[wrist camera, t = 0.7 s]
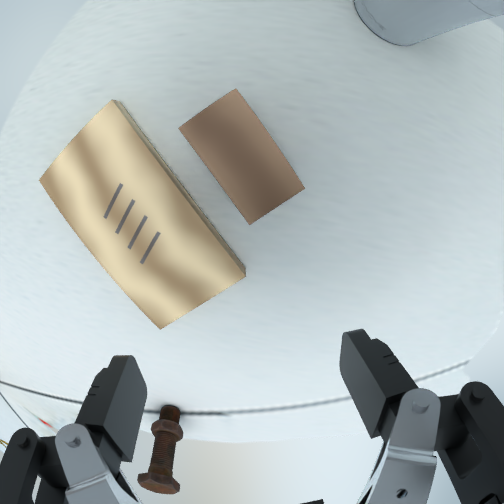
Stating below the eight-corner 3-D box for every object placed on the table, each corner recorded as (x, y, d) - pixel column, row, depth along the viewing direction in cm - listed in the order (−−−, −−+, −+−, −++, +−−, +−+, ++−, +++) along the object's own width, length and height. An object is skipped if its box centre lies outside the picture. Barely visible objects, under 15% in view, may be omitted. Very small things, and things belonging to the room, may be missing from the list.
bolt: (150, 399, 38) (131, 478, 25) (180, 398, 38) (167, 483, 24) (162, 419, 41) (149, 493, 27) (190, 419, 41) (182, 496, 27)
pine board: (119, 101, 23) (111, 99, 21) (245, 268, 30) (245, 276, 29) (48, 177, 25) (38, 180, 23) (163, 319, 33) (160, 329, 31)
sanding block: (236, 101, 24) (235, 88, 18) (289, 176, 27) (305, 188, 21) (193, 131, 25) (178, 128, 19) (246, 204, 28) (249, 225, 22)
